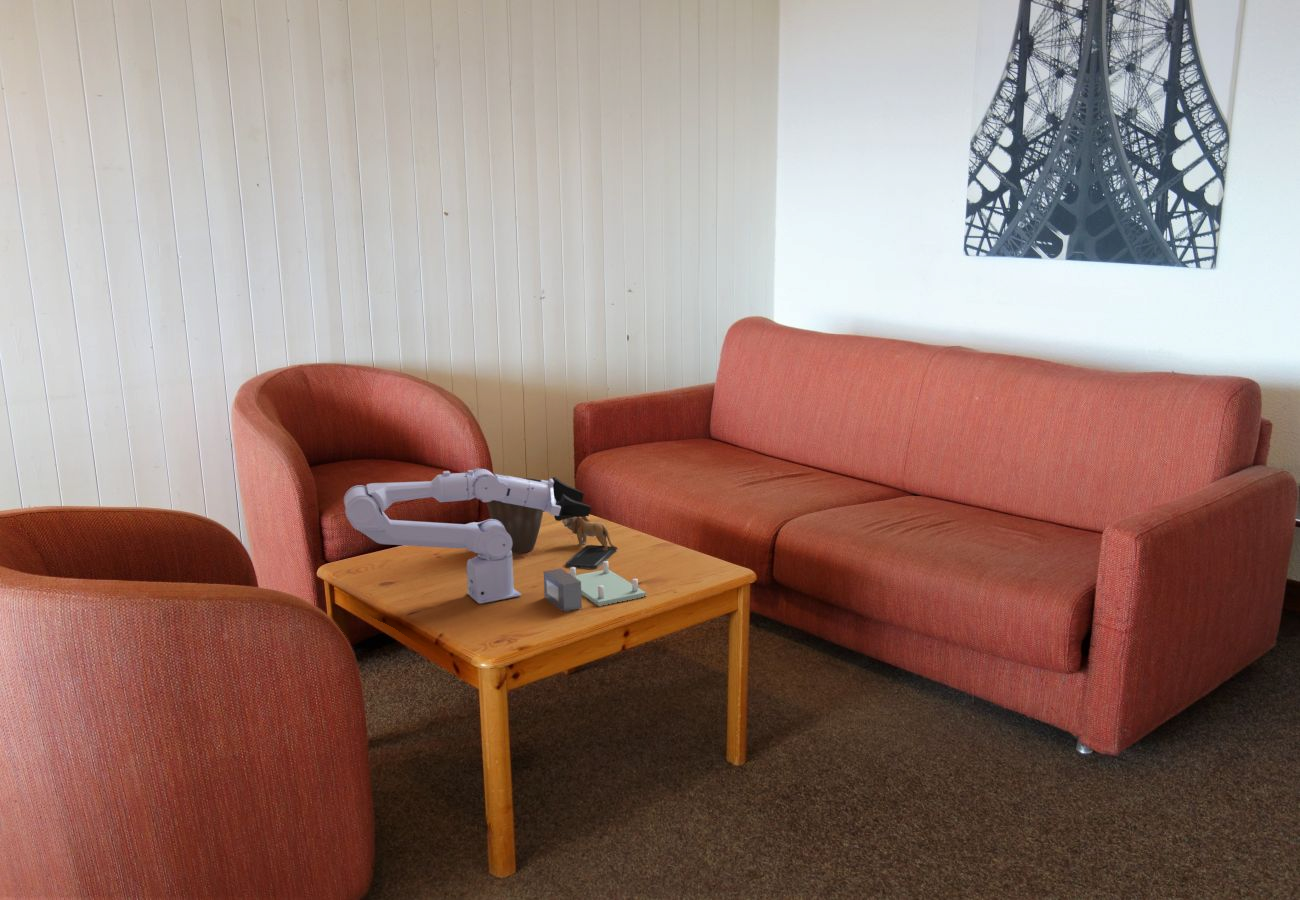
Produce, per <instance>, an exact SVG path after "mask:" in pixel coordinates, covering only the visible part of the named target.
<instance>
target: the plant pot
mask: <svg viewBox="0 0 1300 900" xmlns="http://www.w3.org/2000/svg"><path fill="white" fill-rule="evenodd" d="M521 478H522V479H527V480H533V481H538V482H540V481H541V480H542V479H538V478H529V477H521ZM486 506H487V509H488V513H489V516H490V519H496V520H498V521H500V522H501V523H502V524H503V525H504V527H505V530H506V531H507V533H509V535H510V536H511V538H512V542H513V544H512V549H511V550H512V554H522V553H524V554H525V553H527V552H531V551H533V550H534V549H535V545H536V542H537V540H538V537H539V532H540V529H541V524H542V519H543V516H544V515H543V514H544V511H542V510H541V509H536V508H530V507H525V506H520V505H514V504H509V503H504V502H501V501H496V500H492V501H490V502H486Z"/></svg>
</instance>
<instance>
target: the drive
mask: <svg viewBox="0 0 1300 900" xmlns="http://www.w3.org/2000/svg"><path fill="white" fill-rule="evenodd" d="M543 591H544V599H546V601H548V602H550V604H552V603H553V604H552V605H554V607H556V606H557V609H559V610H560V609H561V610H560V611H562V612H563V611H564V613H568V612H572V611H571V610H573V611H577V609H578V610H581V609H580V608H582V609H583V603H582V602H583V601H582V594H581V581H579V580H578V579H576V578H575V577H573V576H572V575H570V572H567V571H566V570H564V569H563V568H561V567H560V568H556V569H549V570H544V571H543ZM567 611H568V612H567Z"/></svg>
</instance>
